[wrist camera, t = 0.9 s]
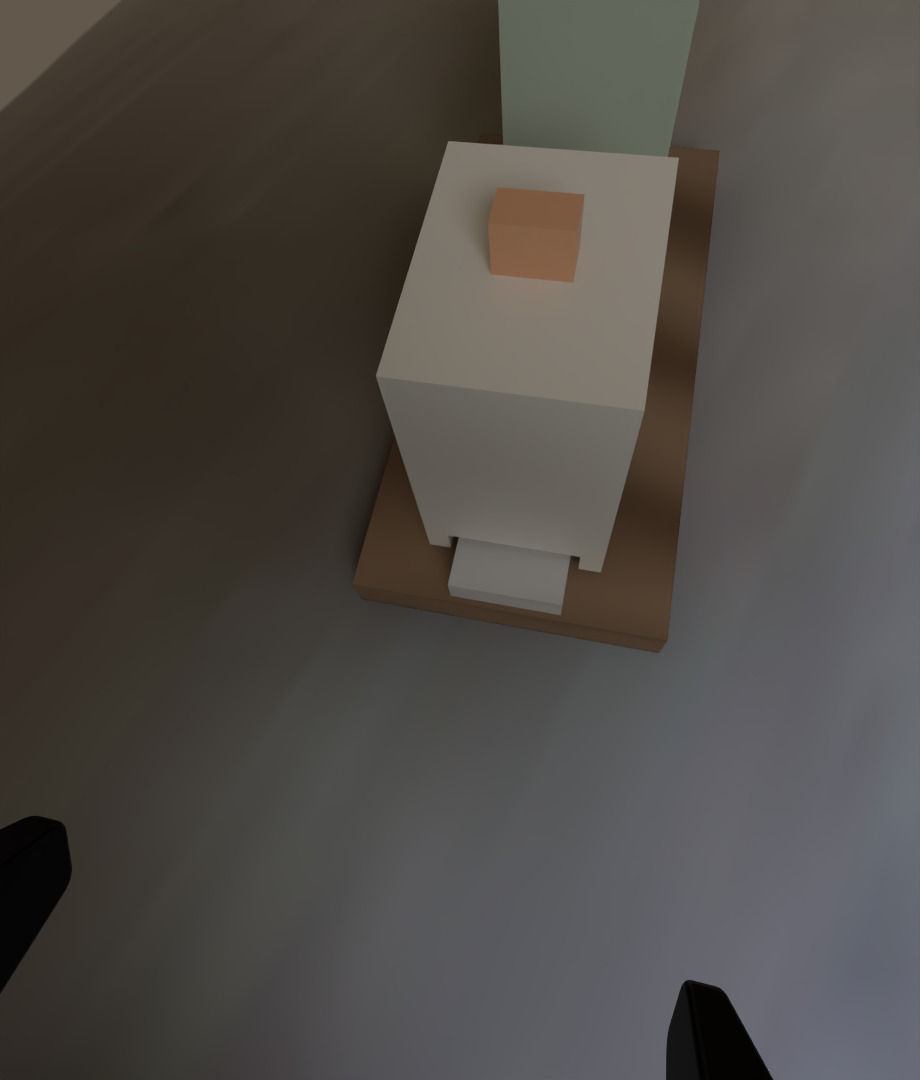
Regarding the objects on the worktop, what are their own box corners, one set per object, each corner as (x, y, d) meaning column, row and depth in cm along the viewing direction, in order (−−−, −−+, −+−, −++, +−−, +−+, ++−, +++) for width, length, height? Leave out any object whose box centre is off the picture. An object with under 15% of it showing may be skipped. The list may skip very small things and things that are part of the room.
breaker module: (600, 572, 22) (656, 366, 13) (430, 544, 23) (361, 331, 13) (628, 387, 25) (692, 99, 15) (473, 367, 26) (442, 85, 16)
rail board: (658, 652, 23) (673, 631, 20) (361, 598, 24) (344, 573, 22) (710, 182, 31) (725, 128, 28) (482, 164, 32) (479, 112, 30)
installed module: (648, 250, 27) (701, -11, 19) (506, 237, 28) (497, -18, 20) (664, 140, 29) (718, -136, 21) (532, 131, 30) (534, -138, 22)
